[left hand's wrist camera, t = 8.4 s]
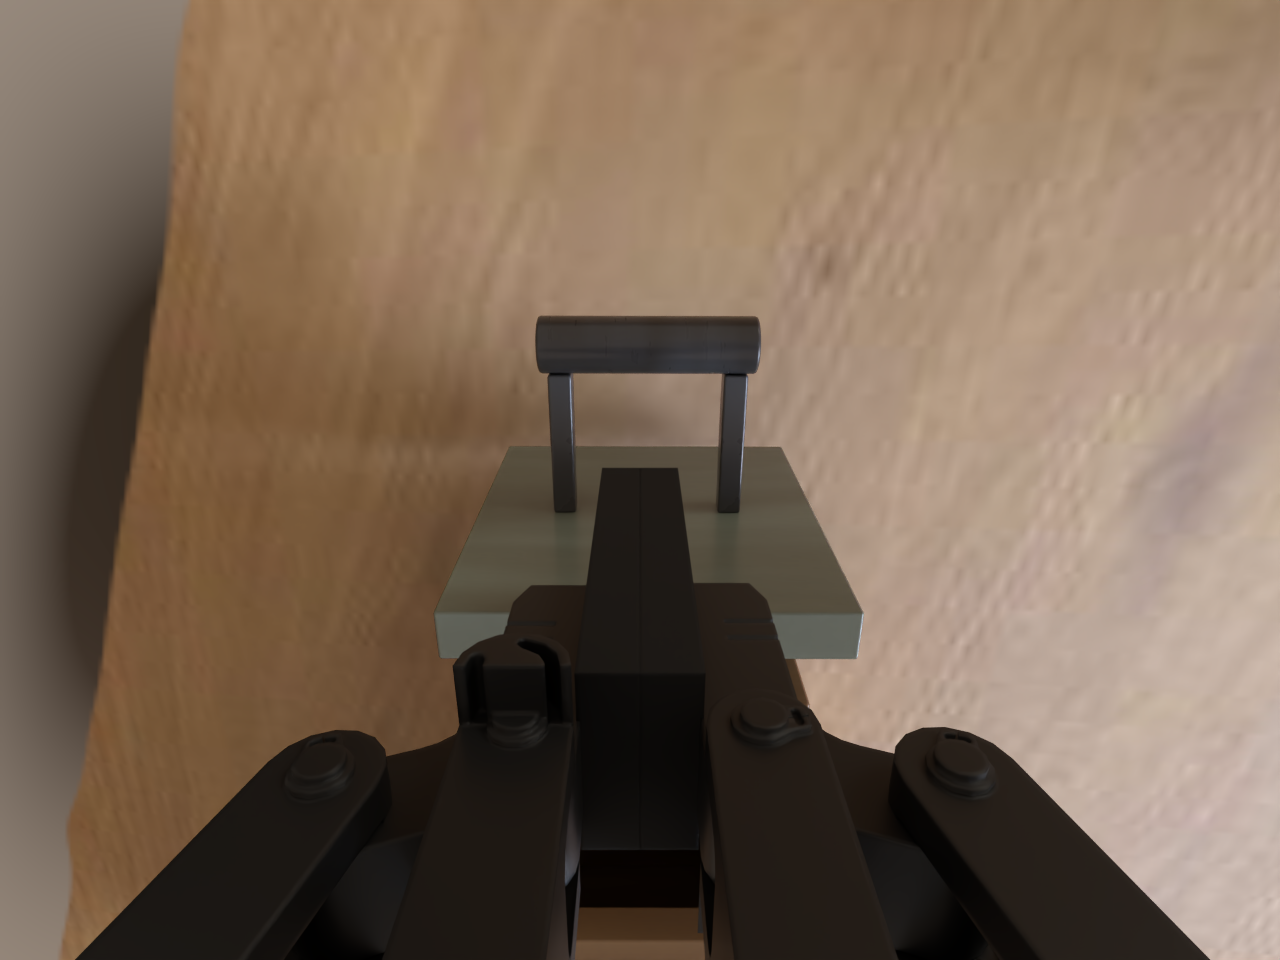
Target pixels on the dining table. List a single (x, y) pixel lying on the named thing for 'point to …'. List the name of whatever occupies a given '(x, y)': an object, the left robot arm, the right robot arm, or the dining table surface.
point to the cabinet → (639, 934)
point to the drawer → (715, 523)
